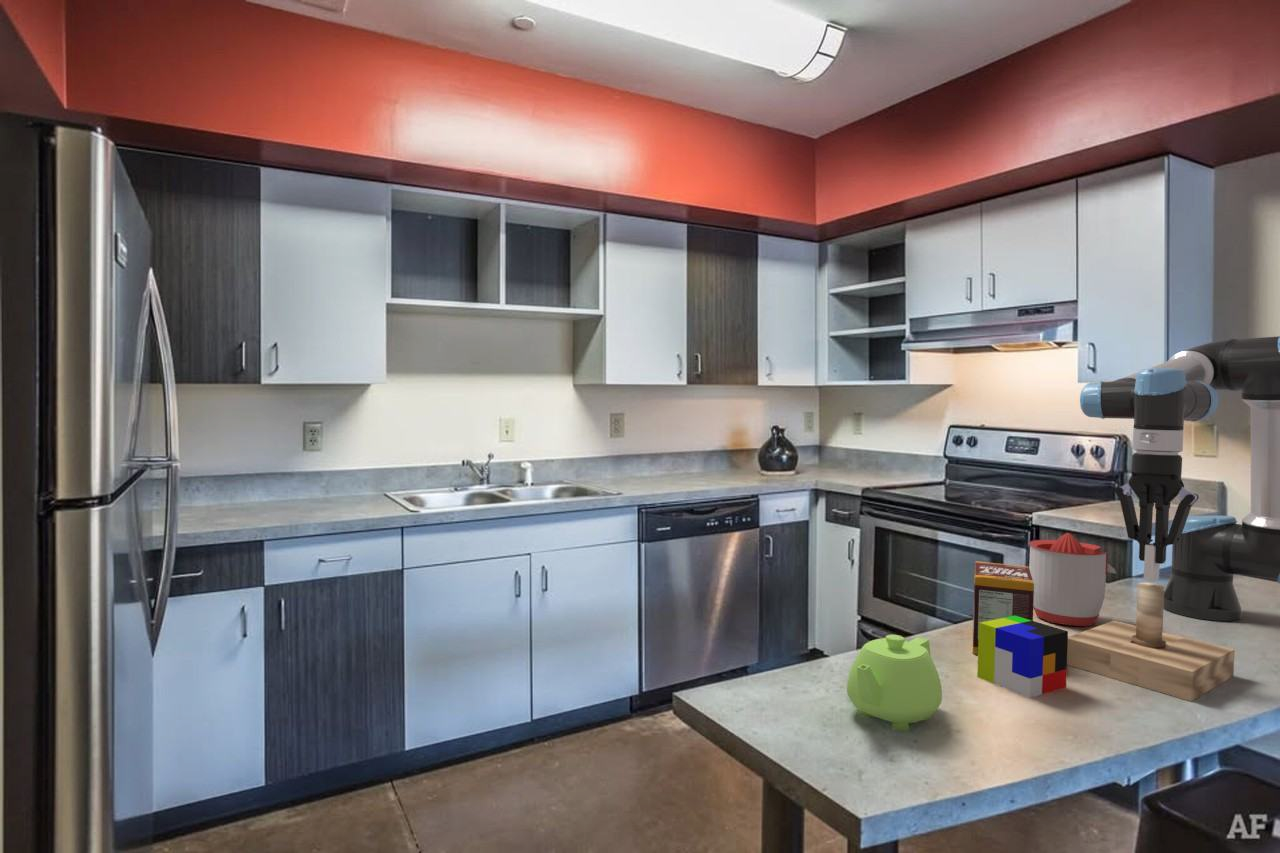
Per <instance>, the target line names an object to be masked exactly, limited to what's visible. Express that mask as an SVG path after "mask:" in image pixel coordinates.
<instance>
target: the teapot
mask: <svg viewBox="0 0 1280 853" xmlns="http://www.w3.org/2000/svg"><path fill="white" fill-rule="evenodd" d="M931 653H932V652H931V648H930V639H927V638H924V637H920V636H917V637H915V638H913V639H911V640H910V641H907V640H906V638H905V637H903V636H902V635H897V634H888V635H885V637H883V638H877V639H873V640H870V641H868V642H866V643H864V645H862V647H861V648H860V650H859V652H858V654H857V655H856V657H855V659H854V661H853V663H852V666H851V668H850V671H849V673H848V677H847V678H848V679H847V683H846V694H847V696H848V699H850V701H851V703H852V704H853V705H854V707H855V708H856V709H857V710H858V711H857V712H856V715H858V716H859V717H861V718H867V719H869V718H873V717H876V718H878V719H880V720H884V721H887V722H890V723H891V724H892V725H891V727H892V729H893V730H895V731H897V732H901V733H906V732H909V731H911V728H910V726H909V724H912V723H913V724H914V723H917V722H918V723H919V722H922V721H930V719H931V716H932V715H933V714H934V713H935V712H936V711H937V709H938V708H939V707H940V705H941V704H942V700H943V691H942V683H941V679H940V675H939V673H938V669H937V667H936V665H935V663H934V661H933V659H932V654H931Z"/></svg>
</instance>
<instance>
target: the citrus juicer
mask: <svg viewBox="0 0 1280 853" xmlns="http://www.w3.org/2000/svg"><path fill="white" fill-rule="evenodd" d="M1028 545H1029V564H1028V565H1029V566H1028V567H1029V570H1030V573H1031V576H1032V579H1033V582H1034V604H1033V611H1034V613H1035V614H1036V617H1038V618H1040V619H1042V620H1044V621H1046V622H1047V621H1048V622H1047V623H1049V622H1051V623H1050V624H1060V625H1065V626H1074V627H1075V626H1077V627H1078V626H1079V627H1083V628H1084V627H1085V628H1086V627H1089V626H1093V625H1095V623H1096V621H1097V619H1098V618H1099V616H1100V612H1101V609H1102V607H1103V605H1104V602H1105V601H1104V600H1105V596H1106V595H1105V594H1106V588H1107V587H1106V583H1107V582H1106V580H1107V575H1108V573H1110V574H1113V575H1117V571H1116V569H1115V568H1114V567H1113V566H1111V565H1110V564H1109V563H1108V562H1109V561H1108V559H1109V552H1108V551H1106V552H1102V547H1101V546H1099V545H1096V544H1090V543H1085V542H1080V541H1079V540H1078V539H1077V538H1075V536H1073V535H1072V533H1069V532H1067V533H1064V534H1063V535H1061V536H1060V537H1059V538H1058V539H1035V540H1030V541H1029V542H1028Z"/></svg>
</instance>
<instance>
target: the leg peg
mask: <svg viewBox="0 0 1280 853" xmlns="http://www.w3.org/2000/svg"><path fill="white" fill-rule="evenodd" d="M1164 591H1165V586H1164V585H1161V584H1160V583H1159V584H1158V583H1154V582H1141V581H1140V582H1138V583H1137V599H1136V604H1137V605H1136V623H1135V626H1136V635H1133V636H1132V642H1133V643H1135V644H1137V645H1140V646H1144V647H1149V648H1154V649H1160V648H1165V647H1166V641H1164V640H1162V632H1163V626H1164Z"/></svg>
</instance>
